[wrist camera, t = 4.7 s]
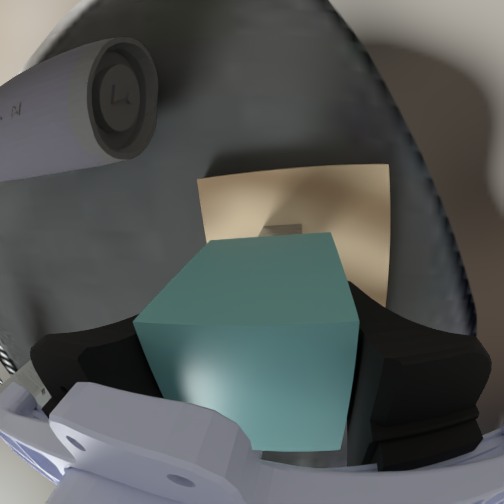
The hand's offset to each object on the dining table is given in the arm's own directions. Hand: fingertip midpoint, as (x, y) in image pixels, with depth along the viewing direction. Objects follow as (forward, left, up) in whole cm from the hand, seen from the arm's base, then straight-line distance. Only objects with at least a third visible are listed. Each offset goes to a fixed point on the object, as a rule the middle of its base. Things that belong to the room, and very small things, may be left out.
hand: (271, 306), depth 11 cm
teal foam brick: (0, 0, -2) cm, 2 cm away
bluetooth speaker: (+13, +19, -10) cm, 25 cm away
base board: (-4, -1, -10) cm, 11 cm away
